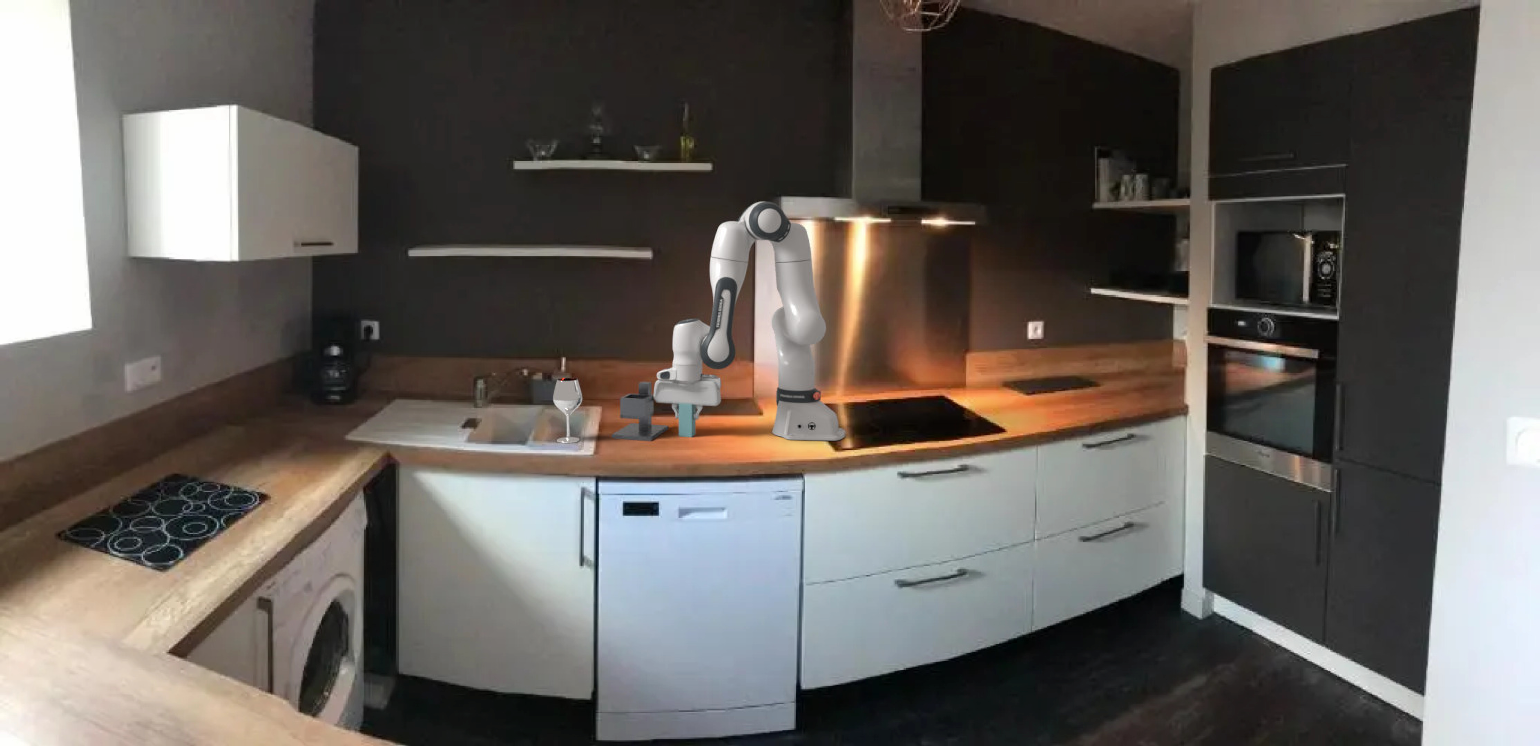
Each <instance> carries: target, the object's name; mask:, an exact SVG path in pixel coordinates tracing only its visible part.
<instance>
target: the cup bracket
mask: <svg viewBox="0 0 1540 746" xmlns="http://www.w3.org/2000/svg"><path fill="white" fill-rule="evenodd" d="M619 401H620V402H619V405H620V406H619V408H620V409H619V410H620V411H619V412H620V413H619V414H620V416H619V417H620V418H619V419H626V420H627V419H630V420H631V419H632V420H638V423H635V422H634V423H633V422H631V423H629V424H627V425H626V426H624V427H622V428H621V429H619V430H617V431H615V432H614V433H612V434H611V439H613V440H614V439H617V440H628V441H629V440H630V441H631V440H632V441H645V442H651V441H653V440H654V439H656V438H658V437H659V436H661V435H662V434H663V433H665V432H667V431H668V430H669V425H665V424H664V425H662V424H652V419H653V418H652V416H654V410H655V409H654V405H655V404H654V401H655V400H654V394H652V382H651V381H650V382H649V381H641V382H639V383H638V393H628V394H626V395H624V396H622V397H619Z"/></svg>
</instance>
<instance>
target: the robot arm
mask: <svg viewBox="0 0 1540 746" xmlns="http://www.w3.org/2000/svg"><path fill="white" fill-rule="evenodd" d="M808 235H809V234H808V231H807V229H806V227H805V226H803V225H802V224H800V223H797V222H790V220H789V218H788V216H786V213H785V212H784V211H783V209H782V208H781V207H780V206H779V205H778V204H776V203H774V202H772V201H758V202H755V203H753V204H750V205H749V206H748V207H746V208H745V209H744V210H743V212H742V213H741V215H740V216H739V218H738V219H736V221H735V220H732V221H731V220H729V221H725V222H722V223H721V224H720V225H719V226H718V228H717V231H716V233H715V236H714V240H713V243H712V246H711V247H712V248H711V254H710V261H709V279H710V285H711V290H712V297H713V298H712V299H713V301H712V302H713V303H712V310H711V311H712V312H711V319H710V325H708V324H707V323H704V322H702V321H701V320H700V319H699V318H688V319H683V320H680V321H679V322H677V323H676V324H675V325H674V327H673V331H672V333H673V334H672V351H673V360H672V367H667V368H663V369H661V370H660V371H657V373H656V378H657V380H656V381H655V382H654V386H653V387H654V388H653V397H654V401H655V403H656V404H657V403H658V404H659V403H660V404H671V408H672V410H673V411H674V413H675V414H674V415H675V419H679V404H692V405H696V413H693V419H695V421H697V420H699V419H700V413H701V411H702V409H703V407H704V406H706V407H707V406H708V407H709V406H710V407H717V406H718V405H719V404H721V402H722V397H721V395H722V394H721V387H722V379H721V378H720V377H719V376H717V374H706V373H703V363H704V364H705V365H706V366H707V367H708V368H710V369H711V370H712V369H713V370H723V369H726V368H727V367H729V366H730V365H731V364H733V361H734V360H735V358H736V347H735V343H734V341H733V335H732V334H733V325H734V324H733V323H734V316H735V310H736V309H735V308H736V303H737V301H738V300H737V299H738V297H739V294H740V291H741V289H742V286H743V285H744V282H745V278H746V273H747V270H748V264H749V255H750V251H751V247H752V245H754V243H755V242H756V241H769V242H770V244H771V246H772V248H773V252H774V267H775V268H774V269H775V270H774V271H775V284H776V291H777V292H778V294H779V296H780V298H781V303H782V306H781V307H780V308H778V309H776V311H774V312H773V314H772V316H771V327H772V329H773V331H774V332H773V333H774V339H775V347H776V353H777V358H778V379H777V380H778V387H776V391H775V392H776V393H775V394H776V395H775V402H776V414H775V419H774V424H773V427H772V430H771V433H772V434H773V435H775V436H777V437H778V436H779V437H782V438H784V439H785V440H790V441H791V440H792V441H830V442H831V441H833V442H834V441H840V440H842V439H844V438H845V436H846V430H845V429H844V428H841V427H839V425H840V424H839V420H838V415H837V413H836V412H834V411H833V410H832V408H830V407H828V405H826V404H825V403H824V402H822V401H821V397H822V394H821V392H822V390H821V389H819V390H818V389H817V388H816V387H815V381H816V380H815V378H816V377H815V375H816V373H815V372H816V370H815V369H816V364H815V362H816V361H815V359H814V357H813V354H812V348H811V345H815V344H817V343H819V342H820V341H821V340H822V339H823V338H824V337H825V334H826V331H827V325H826V321H825V319H824V318H823V315H822V313H821V309H820V306H819V305H820V304H819V301H818V298H817V294H816V290H815V285H814V284H815V283H814V274H813V273H814V272H813V259H812V250H811V243H810V238H809V236H808Z"/></svg>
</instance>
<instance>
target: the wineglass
mask: <svg viewBox="0 0 1540 746" xmlns="http://www.w3.org/2000/svg"><path fill="white" fill-rule="evenodd" d="M555 383H556V384H555V386H554V390H553V397H552V400H553V404H554V405H555V406H556V408H557V409H559V411H561V413H563V414H564V415H565V416H566V436H565V437H560V438H557V440H556V441H557V442H558V443H562V444H573V443H577V442H580V438H579V437H576V436H575V437H574V436H571V431H570V425H571V424H570V423H571V422H570V421H571V420H570V419H571V418H570V417H571V415H572V414H573V413H574V411H576V410H577V409H578V408H579V407H580V405H581V404H582V402H583V394H582V390H581V387H580V383H579V379H578V378H575V377H562V378H557V379H556V382H555Z"/></svg>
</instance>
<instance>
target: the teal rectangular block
mask: <svg viewBox="0 0 1540 746" xmlns="http://www.w3.org/2000/svg"><path fill="white" fill-rule="evenodd" d="M678 410H679V418H678V437H683V438H693V437H694V436H695V435H696V420H695V419H693V413H696V412H697V408H696V405H692V404H678Z"/></svg>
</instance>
